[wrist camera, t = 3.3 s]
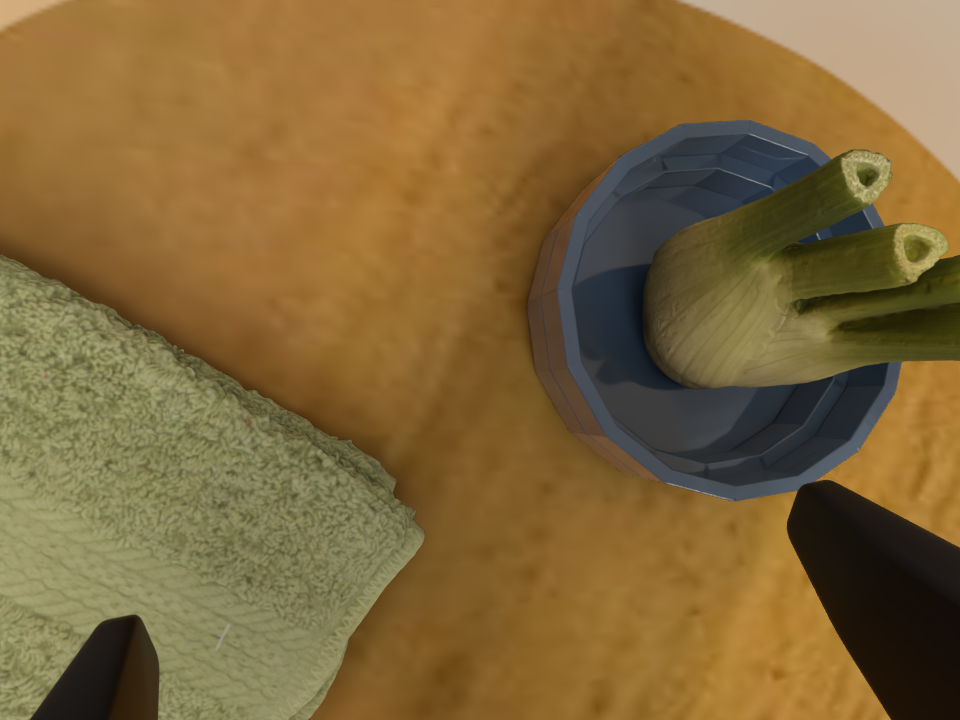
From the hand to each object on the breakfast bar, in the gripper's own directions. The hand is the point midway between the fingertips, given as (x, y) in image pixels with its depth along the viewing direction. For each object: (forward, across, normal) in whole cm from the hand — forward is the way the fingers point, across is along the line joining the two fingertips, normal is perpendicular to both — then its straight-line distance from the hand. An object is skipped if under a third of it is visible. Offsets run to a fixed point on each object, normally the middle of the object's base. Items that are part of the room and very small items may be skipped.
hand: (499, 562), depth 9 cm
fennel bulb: (+14, -11, +6) cm, 19 cm away
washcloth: (+12, +10, +10) cm, 18 cm away
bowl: (+14, -11, +6) cm, 19 cm away
